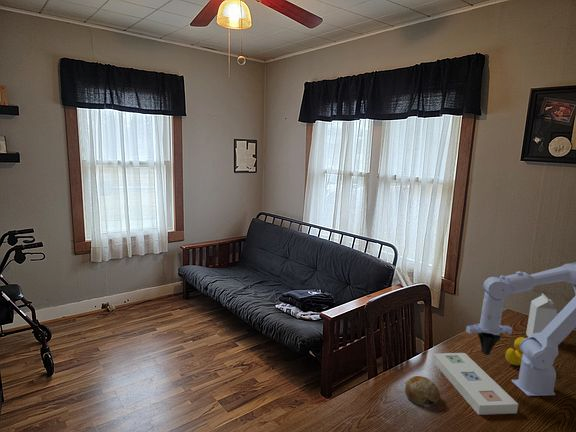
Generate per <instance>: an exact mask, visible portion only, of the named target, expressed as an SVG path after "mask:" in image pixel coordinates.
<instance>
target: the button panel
mask: <svg viewBox="0 0 576 432" xmlns="http://www.w3.org/2000/svg"><path fill="white" fill-rule="evenodd" d="M432 354H433V355H432V362H433V363H434V365H435V366H436V367H437V368H438V369H439V370H440V371H441V373H442V374H443V375H444V376H445V378H446V379H447V380H448V381H449V382H450V383H451V384H452V386H453V387H454V388H455V389H456V390H457V392H458V394H459V395H461V397H463V399H464V400H465V401H466V402H467V403H468V404H469V406H470V407H471V408H472V409H473V411H475V413H476V414H477V415H479V416H480V415H483V416H484V415H506V414H507V415H508V414H517V413H518V408H519V403H518V402H517V401H516V400H515V399H514V398H513V397H512V396H511V395H509V394H508V393H507V392H506V390H504V389H503V388H502V386H500V385H499V384H498V383H497V382H496V381H495V380H494V379H492V377H490V376H489V375H488V373H486V372H485V370H483V369H482V367H480V366H479V365H478V364H477V363H476V362H475V361H474V360H473V359H471V357H470V356H469V355H468V354H466V353H465V352H447V353H445V352H444V353H439V352H437V353H432ZM455 356H457V357H458V358H459V359H460V360H461V361H462V362H463V363H451V361H450V360H449V359H448V358H447V357H455ZM462 373H474V374H475V375H476V376H477V377H478V378H479V379H480V380H477V381H468V380H467V379H466V377H465V376H464V375H463V374H462ZM480 392H493V393H494V394H495V395H496V396H497V397H498V398H499V399H500V400H501V401H487V400H486V399H485V398H484V397H483V396H482V395H481V393H480Z"/></svg>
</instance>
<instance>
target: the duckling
mask: <svg viewBox="0 0 576 432" xmlns="http://www.w3.org/2000/svg"><path fill="white" fill-rule="evenodd" d="M525 338H526V337H522V336H518V337H517V338H516V339H515V340H514V343H513V346H514V348H515V349H514V348H513V347H512V348H511V347H509V348H508V349H507V350H506V351H505V356H504V357H505V360H506V361H507V363H509V364H510V365H513V366H521V360H522V355H523V352H522V351H521V349H520V343H521V341H522V340H524V339H525Z"/></svg>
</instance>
